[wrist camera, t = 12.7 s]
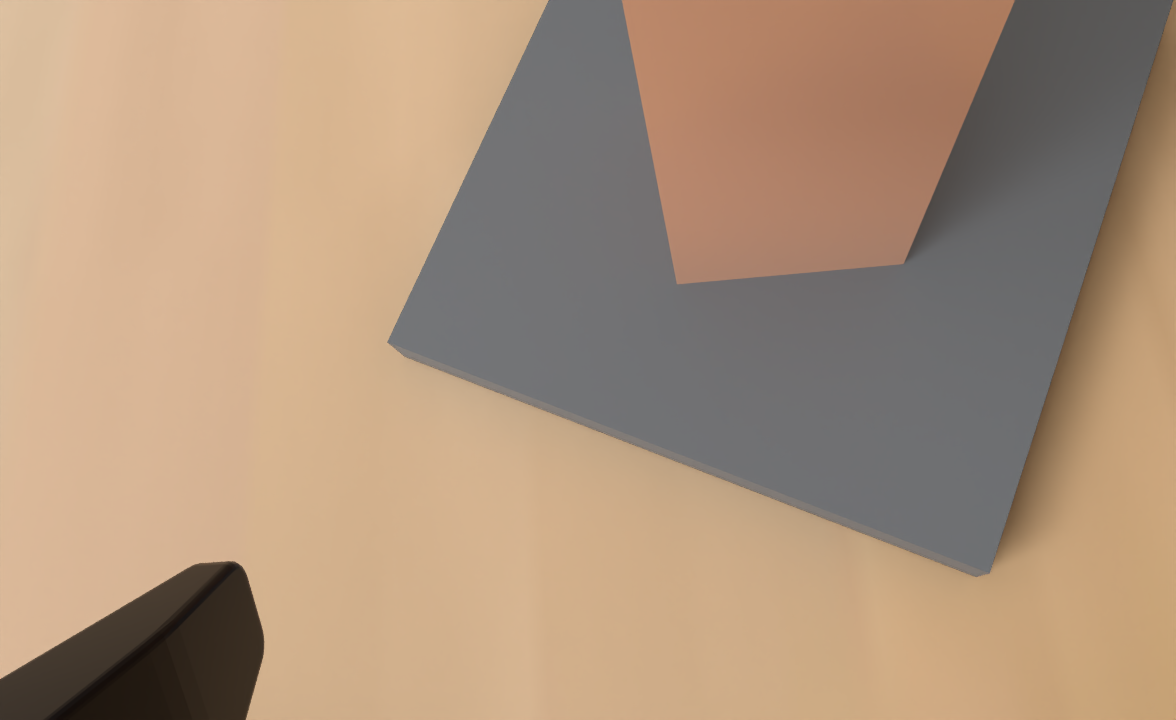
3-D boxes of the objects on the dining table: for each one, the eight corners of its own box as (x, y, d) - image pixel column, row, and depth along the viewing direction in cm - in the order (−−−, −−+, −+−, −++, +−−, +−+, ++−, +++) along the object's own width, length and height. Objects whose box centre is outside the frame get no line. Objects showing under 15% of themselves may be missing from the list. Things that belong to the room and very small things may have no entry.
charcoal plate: (1154, 24, 23) (1175, -7, 22) (975, 576, 21) (989, 573, 19) (618, -103, 27) (613, -136, 26) (404, 356, 24) (387, 342, 23)
